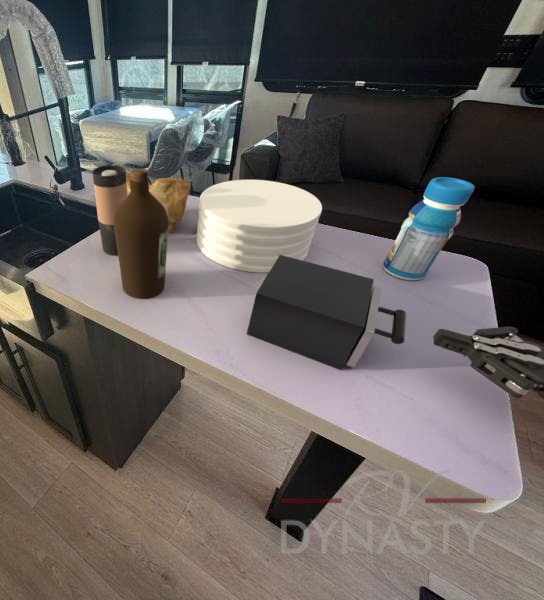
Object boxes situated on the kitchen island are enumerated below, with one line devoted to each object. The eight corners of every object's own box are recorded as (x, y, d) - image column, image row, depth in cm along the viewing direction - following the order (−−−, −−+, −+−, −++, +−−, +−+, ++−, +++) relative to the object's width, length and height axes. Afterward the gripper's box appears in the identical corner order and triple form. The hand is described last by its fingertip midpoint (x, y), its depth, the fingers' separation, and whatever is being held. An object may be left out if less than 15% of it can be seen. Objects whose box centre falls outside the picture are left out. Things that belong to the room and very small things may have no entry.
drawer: (390, 330, 59) (412, 296, 54) (385, 379, 51) (409, 344, 46) (282, 296, 67) (292, 264, 62) (263, 334, 59) (273, 300, 54)
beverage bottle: (396, 283, 71) (448, 192, 58) (373, 261, 77) (415, 176, 64) (434, 280, 71) (494, 190, 58) (408, 259, 77) (457, 174, 65)
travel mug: (136, 245, 87) (132, 168, 74) (120, 259, 82) (112, 178, 69) (113, 238, 90) (105, 163, 77) (96, 251, 85) (84, 173, 72)
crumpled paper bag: (208, 224, 96) (214, 171, 88) (176, 243, 85) (179, 185, 77) (146, 208, 108) (146, 160, 100) (111, 223, 97) (108, 170, 89)
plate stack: (332, 263, 77) (350, 217, 70) (220, 280, 73) (226, 234, 66) (272, 213, 99) (281, 175, 91) (183, 225, 95) (185, 185, 87)
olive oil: (115, 299, 69) (102, 181, 54) (124, 271, 78) (115, 161, 62) (165, 302, 68) (167, 182, 52) (169, 273, 76) (171, 162, 60)
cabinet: (352, 320, 62) (373, 279, 56) (340, 370, 54) (364, 327, 47) (269, 294, 69) (279, 254, 63) (246, 334, 60) (256, 292, 54)
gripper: (610, 334, 43) (447, 293, 51) (655, 410, 35) (452, 347, 43) (565, 369, 48) (423, 327, 56) (595, 444, 40) (423, 382, 47)
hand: (436, 336), depth 49 cm, fingers closed
